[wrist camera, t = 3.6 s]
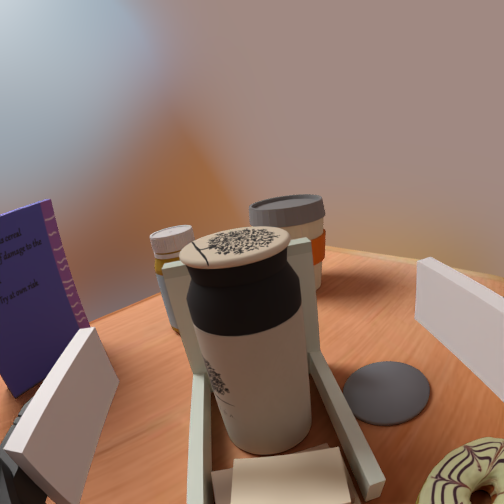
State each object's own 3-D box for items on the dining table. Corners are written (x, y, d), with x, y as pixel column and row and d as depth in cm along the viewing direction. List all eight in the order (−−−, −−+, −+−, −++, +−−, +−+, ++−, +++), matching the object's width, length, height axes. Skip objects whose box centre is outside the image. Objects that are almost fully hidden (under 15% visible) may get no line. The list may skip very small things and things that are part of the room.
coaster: (329, 414, 26) (329, 411, 26) (359, 359, 33) (359, 356, 33) (419, 432, 21) (420, 429, 21) (434, 369, 28) (434, 366, 28)
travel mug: (296, 388, 31) (274, 219, 25) (324, 440, 23) (313, 243, 18) (222, 407, 29) (176, 239, 24) (235, 466, 22) (172, 274, 17)
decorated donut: (538, 463, 12) (558, 437, 11) (503, 574, 5) (530, 559, 3) (441, 445, 19) (453, 418, 18) (383, 549, 12) (394, 535, 11)
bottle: (180, 314, 51) (157, 228, 47) (219, 312, 50) (200, 221, 46) (166, 337, 45) (138, 241, 40) (210, 335, 44) (186, 234, 39)
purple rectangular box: (84, 337, 47) (40, 201, 40) (97, 344, 45) (50, 197, 37) (7, 386, 33) (-55, 237, 26) (15, 398, 31) (-55, 236, 23)
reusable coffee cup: (321, 267, 61) (313, 191, 57) (340, 293, 49) (333, 201, 45) (258, 278, 61) (245, 201, 57) (263, 307, 49) (248, 214, 45)
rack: (379, 496, 16) (417, 345, 12) (199, 532, 15) (103, 405, 11) (317, 362, 34) (306, 237, 30) (200, 385, 33) (164, 263, 29)
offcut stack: (362, 516, 15) (368, 496, 14) (221, 544, 14) (207, 528, 13) (337, 454, 21) (339, 428, 20) (217, 478, 21) (206, 454, 20)
